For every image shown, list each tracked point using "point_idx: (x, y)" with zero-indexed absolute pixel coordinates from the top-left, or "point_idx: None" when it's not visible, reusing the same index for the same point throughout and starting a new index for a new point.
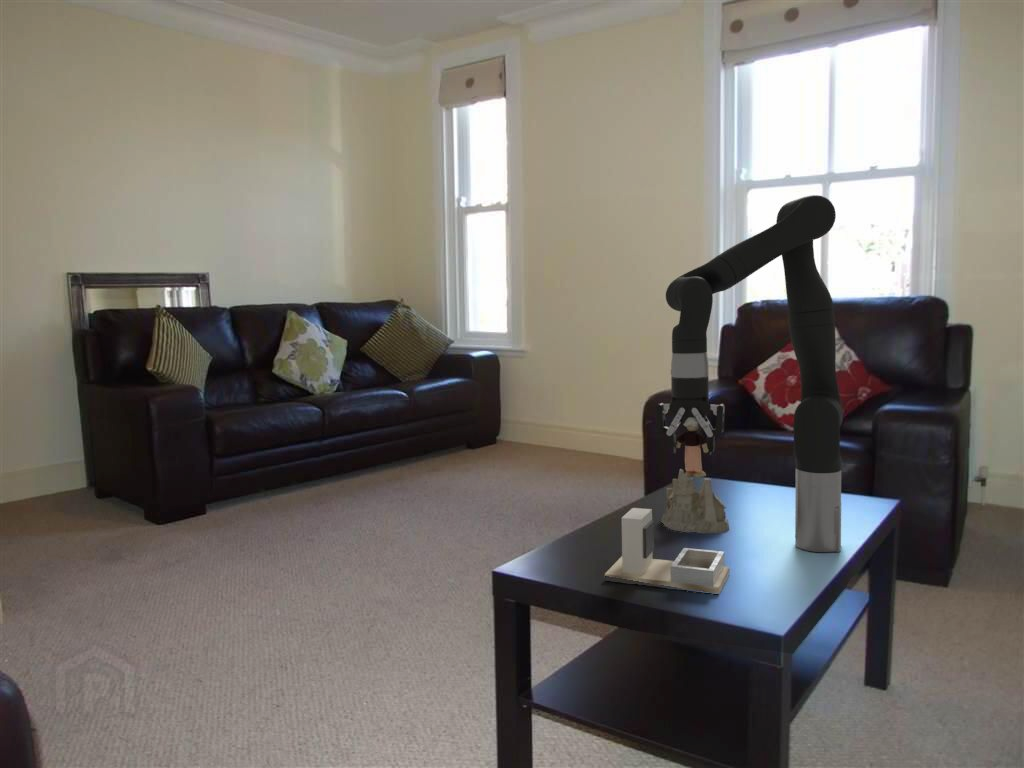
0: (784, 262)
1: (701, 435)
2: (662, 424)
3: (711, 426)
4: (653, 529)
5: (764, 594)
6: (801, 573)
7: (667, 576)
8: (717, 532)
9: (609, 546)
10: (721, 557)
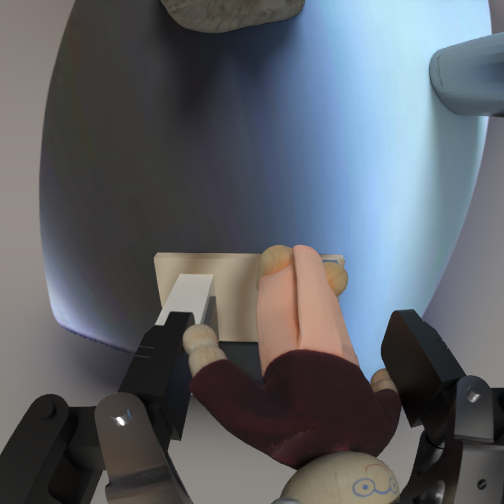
0: None
1: (387, 444)
2: (88, 493)
3: (488, 433)
4: (210, 322)
5: (382, 311)
6: (436, 218)
7: (254, 326)
8: (287, 18)
9: (106, 175)
10: (338, 297)
